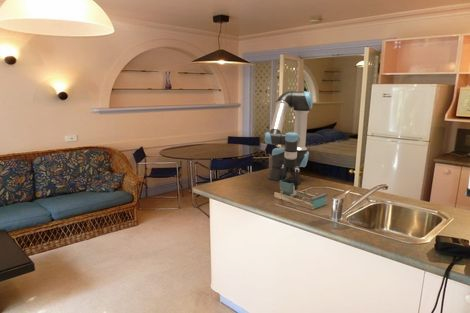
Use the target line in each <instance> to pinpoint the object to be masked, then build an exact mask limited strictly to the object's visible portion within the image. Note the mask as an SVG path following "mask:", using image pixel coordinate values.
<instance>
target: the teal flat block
mask: <svg viewBox="0 0 470 313" xmlns="http://www.w3.org/2000/svg"><path fill="white" fill-rule="evenodd" d="M328 195H329V194H328V193H325V192H324V193H321V194H318V196H315V195H314V196H315V197H313V198H310V200H309V201H310V203H312V204H314V209H313V210H315V209H318V208H320V207H324V206H326V205H325V203H326V199H327V197H328Z"/></svg>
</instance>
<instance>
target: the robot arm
mask: <svg viewBox="0 0 470 313" xmlns="http://www.w3.org/2000/svg"><path fill="white" fill-rule="evenodd" d="M274 104H275V105H274V106H275V110H274V114H273V118H272V121H271V125H270V129H269V131H266V132H265V133H264V143H265V144H268V145H276V146H277V145H280V146H284V147H275V148H273V149H272V151H271V166H270V170H269V173H268V179H269V180H271V181H276V182H277V181H278V182H280V180H284V179H287V178H288V179H290V176H291V178H292V180H293V182H294V185H293V194H294V196H296V192H297V191H299V189H298V188H299V186H301V184H302V182H301V169H300V168H302V167H303V168H305V167H306V166H307V164H308V161H309V155H310V151H308V147H306V143H307V142H306V141H307V140H306V139H307V129H308V128H307V126H308V114H309V113H310V111H311V110H312V109H313V95H312V93H311V92H310V91H297V90H293V91H292V90H288V91H285V92H283V93H282V94H281V95H280V96H278V98H277V99H276V101H275V103H274ZM290 108H291V109H292V110H293V112H294V113H295V114H294V128H293V132H291V131H289V132H286V133H283V132H282V131H283V128H284V127H283V126H284V123H285V118H286V115H287V111H288V110H289V109H290ZM297 167H298V168H297ZM289 174H290V175H289Z"/></svg>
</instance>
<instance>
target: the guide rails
mask: <svg viewBox="0 0 470 313" xmlns="http://www.w3.org/2000/svg"><path fill="white" fill-rule="evenodd" d="M318 195H319V193H318V192H315V194H310V193H308V190H307V189H304V190H303V191H301V190H297V192H296V195H294V194H291V196H287V195H284V194H283V191H281V190H280V191H279V192H276V191H275V192H274V195H273V198H275V199H278V200H281V199H282V201H284V202H288V203H290V204H293V205H297V206H300V207H303V208H305V209H308V210H315V209H314V204H312V203H311V202H308V201H305V200H309V201H310V198H313V197H315V196H318ZM294 196H296V197H299V198H301V199H299V198H295V197H294ZM327 204H328V199H327V198H326V203H325V205H324V206H326V205H327Z"/></svg>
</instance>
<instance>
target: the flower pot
mask: <svg viewBox="0 0 470 313" xmlns="http://www.w3.org/2000/svg"><path fill="white" fill-rule="evenodd" d="M293 185H294V182H293V179H291V178H289V179H288V178H287V179H284V180H280V181H279V189H280V191H283V194H284V195H287V196H290V197H291V194H293Z"/></svg>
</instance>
